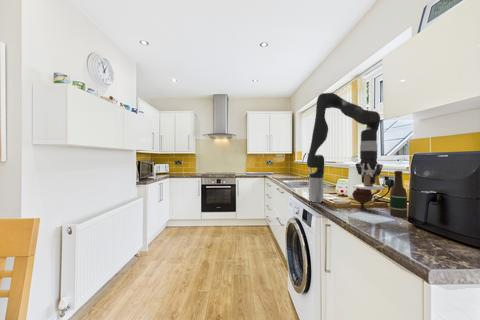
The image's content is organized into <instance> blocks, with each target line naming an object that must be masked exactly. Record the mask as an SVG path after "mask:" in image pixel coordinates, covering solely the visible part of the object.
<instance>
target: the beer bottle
mask: <svg viewBox="0 0 480 320" xmlns="http://www.w3.org/2000/svg"><path fill="white" fill-rule="evenodd" d="M393 173H394V181H393V186H392V188H391V189H390V192H389V215H390V216H391V217H395V218H401V219H403V218H407V217H408V193H407V190H406V188H405V187H404V184H403V171H402V170H395V171H394V172H393Z"/></svg>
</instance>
